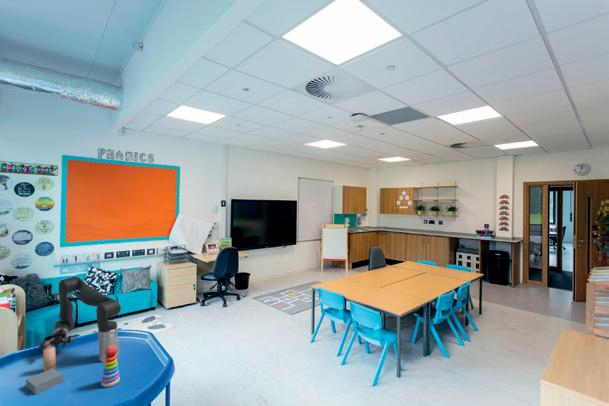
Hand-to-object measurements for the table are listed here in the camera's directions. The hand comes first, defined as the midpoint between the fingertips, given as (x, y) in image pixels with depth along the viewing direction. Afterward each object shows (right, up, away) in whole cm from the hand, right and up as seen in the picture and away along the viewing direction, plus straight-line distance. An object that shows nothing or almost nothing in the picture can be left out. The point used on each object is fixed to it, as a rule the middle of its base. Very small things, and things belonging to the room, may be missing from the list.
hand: (53, 347), depth 173 cm
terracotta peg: (+6, -8, -9) cm, 14 cm away
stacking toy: (+46, -9, -20) cm, 51 cm away
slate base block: (+13, -8, -21) cm, 27 cm away
